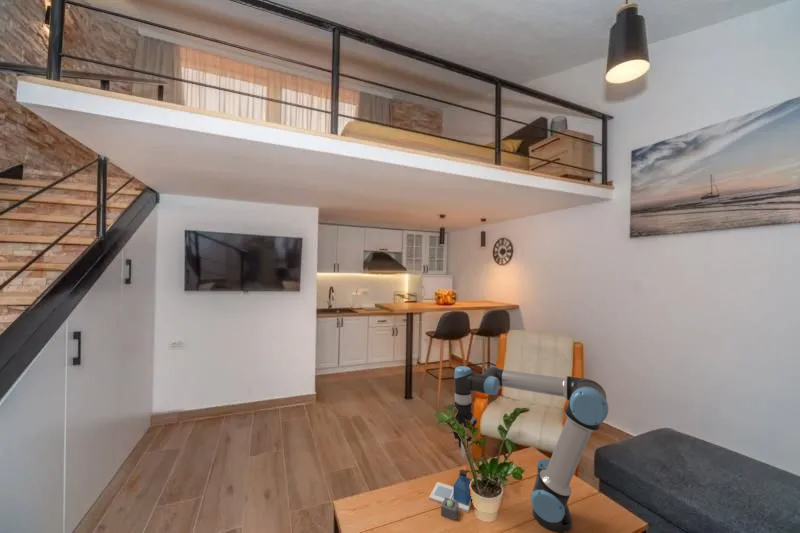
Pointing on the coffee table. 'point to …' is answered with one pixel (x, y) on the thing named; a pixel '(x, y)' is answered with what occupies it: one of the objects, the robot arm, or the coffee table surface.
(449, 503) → the button
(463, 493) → the perfume bottle
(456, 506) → the button housing
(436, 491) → the picture board
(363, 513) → the coffee table surface
